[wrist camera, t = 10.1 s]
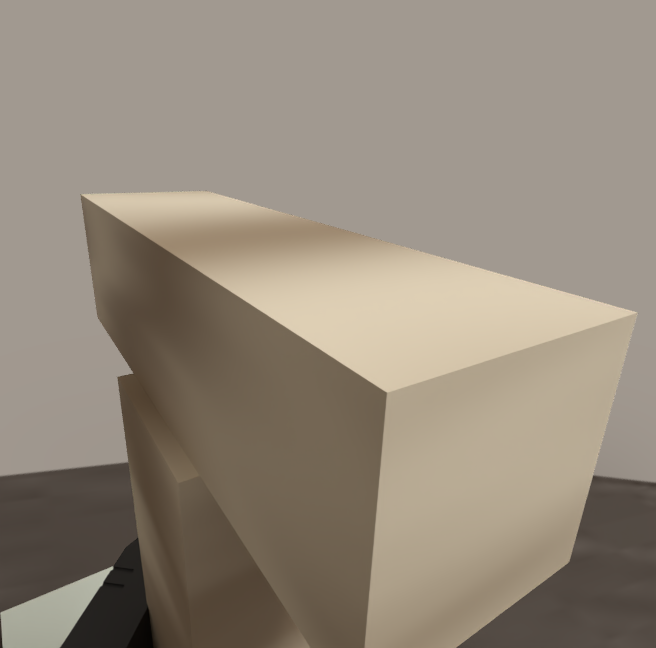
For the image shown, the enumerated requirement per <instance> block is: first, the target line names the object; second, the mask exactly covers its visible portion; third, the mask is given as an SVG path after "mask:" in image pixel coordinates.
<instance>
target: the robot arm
mask: <svg viewBox="0 0 656 648" xmlns="http://www.w3.org/2000/svg"><path fill="white" fill-rule="evenodd" d="M60 648H153V640H152V632H151V624H150V617H149V609H148V604H147V600H146V592H145V585H144V577H143V569H142V562H141V554H140V546H139V539H138V538H137V539H136V540H135V541H133V542H132V543H131V544H130V545H128V546H127V547H126V548H125V549H124V551H123V553H122V554H121V556H120V557H119V559H118V560H117V562H116V563H115V565H114V566H113V570H111V571H110V572H109V574H108V575H107V577H106V578H105V580H104V581H103V585H102V586H100V588H99V589H98V591H97V592H96V594H95V595H94V597H93V598H92V600H91V601H90V603H89V604H88V606H87V607H86V609H85V610H84V612H83V613H82V615H81V617H80V618H79V620H78V621H77V623H76V624H75V626H74V627H73V629H72V630H71V632H70V633H69V635H68V636H67V638H66V639H65V641H64V642H63V644H62V645H61V647H60Z"/></svg>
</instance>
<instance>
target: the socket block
mask: <svg viewBox="0 0 656 648" xmlns="http://www.w3.org/2000/svg"><path fill="white" fill-rule="evenodd" d="M111 570H113V567H110V568H108V569H106V570H103V571H101V572H98V573H96V574H93V575H91V576H89V577H86V578H84V579H81V580H79V581H76V582H74V583H72V584H69V585H67V586H64V587H62V588H59V589H57V590H55V591H52V592H50V593H47V594H45V595H42V596H40V597H37V598H35V599H33V600H30V601H28V602H25V603H23V604H20V605H18V606H16V607H13V608H11V609H8V610H6V611H3V612H1V628H2V645H3V648H60V647H61V645H62V644H63V642H64V641H65V639H66V638H67V636H68V635H69V633H70V632H71V630H72V629H73V627H74V626H75V624H76V623H77V621H78V620H79V618H80V617H81V615H82V613H83V612H84V610H85V609H86V607H87V606H88V604H89V603H90V601H91V600H92V598H93V597H94V595H95V594H96V592H97V591H98V589H99V588H100V586H102V585H103V581H104V580H105V578H106V577H107V575H108V574H109V572H110V571H111Z"/></svg>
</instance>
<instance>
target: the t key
mask: <svg viewBox="0 0 656 648" xmlns="http://www.w3.org/2000/svg"><path fill="white" fill-rule="evenodd" d="M81 201H82V208H83V215H84V223H85V230H86V237H87V244H88V252H89V259H90V266H91V273H92V280H93V287H94V294H95V302H96V309H97V315H98V319H99V320H100V322H101V323H102V325H103V326H104V328H105V330H106V331H107V333H108V334H109V336H110V337H111V339H112V340H113V342H114V343H115V345H116V347H117V348H118V350H119V351H120V353H121V354H122V356H123V357H124V359H125V361H126V362H127V363H128V365H129V367H130V368H131V370H132V371H133V373H134V374H129V375H124V376H120V377H118V384H119V392H120V400H121V408H122V416H123V423H124V431H125V439H126V446H127V454H128V462H129V470H130V477H131V485H132V493H133V500H134V508H135V516H136V523H137V531H138V539H139V546H140V554H141V562H142V569H143V577H144V585H145V592H146V600H147V604H148V609H149V617H150V624H151V632H152V640H153V648H456V647H457V646H459V645H460V644H461V643H463V642H464V641H465V640H467V639H468V638H469V637H470V636H472V635H473V634H474V633H476V632H477V631H478V630H480V629H481V628H482V627H484V626H485V625H486V624H488V623H489V622H490V621H492V620H493V619H494V618H496V617H497V616H498V615H500V614H501V613H502V612H504V611H505V610H506V609H508V608H509V607H510V606H512V605H513V604H514V603H516V602H517V601H518V600H520V599H521V598H522V597H524V596H525V595H526V594H527V593H529V592H530V591H531V590H533V589H534V588H535V587H537V586H538V585H539V584H541V583H542V582H543V581H545V580H546V579H547V578H549V577H550V576H551V575H553V574H554V573H555V572H557V571H558V570H559V569H561V568H562V567H563V566H565V565H566V564H567V563H569V560H570V557H571V553H572V549H573V546H574V542H575V538H576V535H577V531H578V528H579V524H580V520H581V517H582V513H583V509H584V506H585V502H586V498H587V495H588V491H589V488H590V484H591V480H592V477H593V473H594V469H595V466H596V462H597V458H598V455H599V451H600V447H601V444H602V440H603V437H604V433H605V429H606V426H607V422H608V418H609V415H610V411H611V407H612V404H613V400H614V397H615V393H616V389H617V386H618V382H619V379H620V375H621V371H622V368H623V364H624V360H625V357H626V353H627V350H628V346H629V342H630V338H631V335H632V331H633V328H634V324H635V320H636V317H637V312H633V311H630V310H626V309H622V308H619V307H615V306H612V305H608V304H605V303H601V302H598V301H594V300H591V299H587V298H584V297H580V296H577V295H573V294H569V293H566V292H562V291H559V290H555V289H551V288H548V287H545V286H541V285H537V284H534V283H530V282H527V281H523V280H520V279H516V278H513V277H509V276H506V275H502V274H499V273H495V272H491V271H488V270H485V269H481V268H477V267H474V266H470V265H467V264H463V263H459V262H456V261H453V260H449V259H446V258H442V257H439V256H435V255H431V254H428V253H424V252H421V251H417V250H413V249H410V248H407V247H403V246H399V245H396V244H393V243H389V242H385V241H382V240H378V239H375V238H371V237H367V236H364V235H361V234H357V233H353V232H350V231H346V230H343V229H339V228H336V227H332V226H329V225H325V224H322V223H318V222H314V221H311V220H307V219H304V218H300V217H297V216H293V215H290V214H286V213H283V212H279V211H276V210H272V209H269V208H265V207H262V206H258V205H254V204H251V203H247V202H244V201H240V200H236V199H233V198H230V197H226V196H222V195H219V194H215V193H212V192H208V191H189V192H149V193H110V194H81Z"/></svg>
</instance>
